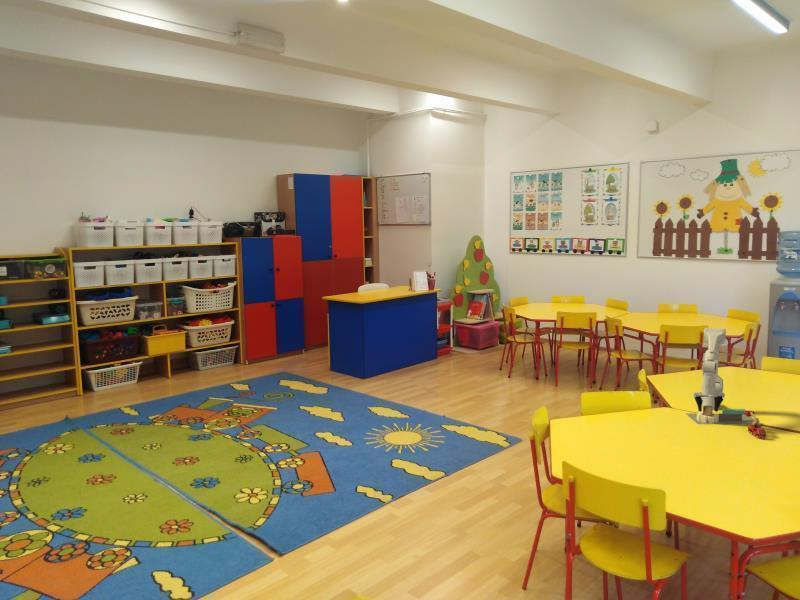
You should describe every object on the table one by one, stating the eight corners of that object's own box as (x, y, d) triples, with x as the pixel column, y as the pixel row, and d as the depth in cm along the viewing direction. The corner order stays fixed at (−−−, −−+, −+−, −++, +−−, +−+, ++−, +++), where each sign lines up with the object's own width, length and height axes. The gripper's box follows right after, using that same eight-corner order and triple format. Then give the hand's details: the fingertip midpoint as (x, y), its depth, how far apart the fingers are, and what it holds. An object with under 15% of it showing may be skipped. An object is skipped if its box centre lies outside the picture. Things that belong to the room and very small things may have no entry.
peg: (701, 418, 303) (701, 405, 302) (709, 418, 303) (710, 405, 302) (704, 421, 299) (705, 407, 298) (713, 421, 299) (714, 407, 298)
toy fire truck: (759, 439, 277) (760, 419, 276) (743, 429, 291) (744, 409, 289) (766, 439, 277) (767, 419, 276) (750, 429, 291) (751, 409, 289)
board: (685, 415, 312) (685, 407, 311) (746, 415, 309) (746, 407, 308) (697, 426, 296) (697, 417, 295) (761, 426, 293) (762, 418, 292)
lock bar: (721, 412, 301) (722, 408, 301) (747, 412, 300) (747, 408, 300) (724, 414, 298) (724, 410, 298) (749, 414, 297) (749, 410, 297)
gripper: (697, 387, 295) (695, 413, 297) (728, 387, 294) (726, 413, 296) (691, 383, 302) (690, 409, 304) (721, 382, 301) (720, 409, 303)
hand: (707, 411), depth 300 cm, fingers open, 7 cm apart
